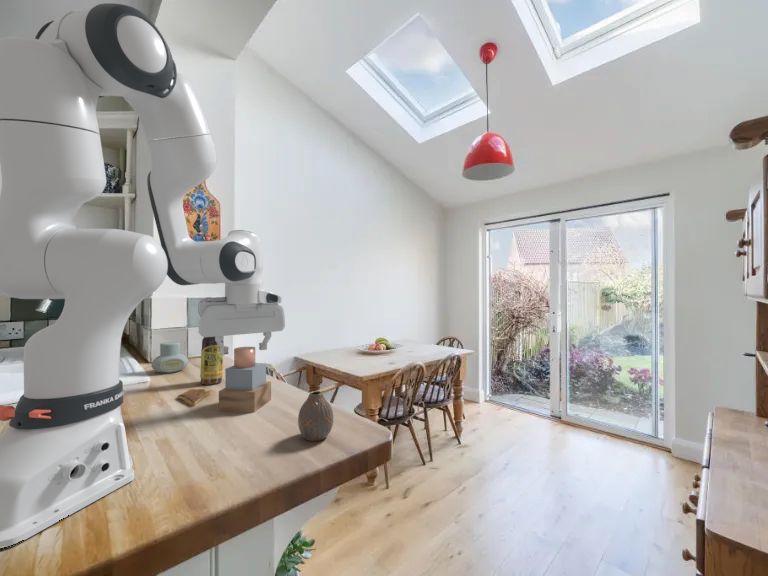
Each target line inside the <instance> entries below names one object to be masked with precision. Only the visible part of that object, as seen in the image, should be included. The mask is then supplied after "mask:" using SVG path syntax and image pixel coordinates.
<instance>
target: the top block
mask: <svg viewBox="0 0 768 576" xmlns="http://www.w3.org/2000/svg"><path fill="white" fill-rule="evenodd" d="M255 364H256V365H255V366H254V367H251V368H243V369H238V368H234V365H232V366H229V367H226V368H225V370H224V371H225V374H224V375H225V377H224V378H225V380H224V381H225V382H224V383H225V385H224V388H225V389H229V390H254V389H256V388H258V387H259V386H261V385H263V384H264V383H266V382H267V363H266V362H264V363H263V362H255Z"/></svg>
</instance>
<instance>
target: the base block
mask: <svg viewBox="0 0 768 576" xmlns="http://www.w3.org/2000/svg"><path fill="white" fill-rule="evenodd" d="M271 400H272V381H266V383H264V384H263V385H261V386H259V387H258V388H256V389H254V390H229V389H225V387H224V388H223V389H220V390H218V411H219V412H237V413H238V412H240V413H256V412H257V411H258V410H260V409H262V408H263V407H264V406H265V405H266V404H268V403H269V402H270V401H271Z"/></svg>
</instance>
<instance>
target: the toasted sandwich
mask: <svg viewBox="0 0 768 576" xmlns="http://www.w3.org/2000/svg"><path fill="white" fill-rule="evenodd" d="M213 392H214V390H212V389H208V388H192V389H188V390H186V391H185V392H182V393H181V394H178V395H177V398H178V400H183V401H184V402H185V403H186V404H187V405H190V406H192V407H196V406H197V405H199V403H200V402H201V401H203V400H205V399H206V398H208V397H209V396H210V395H212V394H213Z"/></svg>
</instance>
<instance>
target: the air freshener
mask: <svg viewBox="0 0 768 576" xmlns="http://www.w3.org/2000/svg"><path fill="white" fill-rule="evenodd" d="M159 345H160V347H159V348H160V350H159V351H160V352H159V354H160V355H159V356H156V357H155V358H153V360H152V362H151V368H152V369H153V370H154V371H155V372H158V373H161V374H174V372H175V373H178V372H180V371H181V370H183V369H185V368H186V367H187V365H188V364H189V358H188V357H187V356H186V355H184V354H183V353H181V342H179V341H165V342H162V343H160V344H159Z"/></svg>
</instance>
